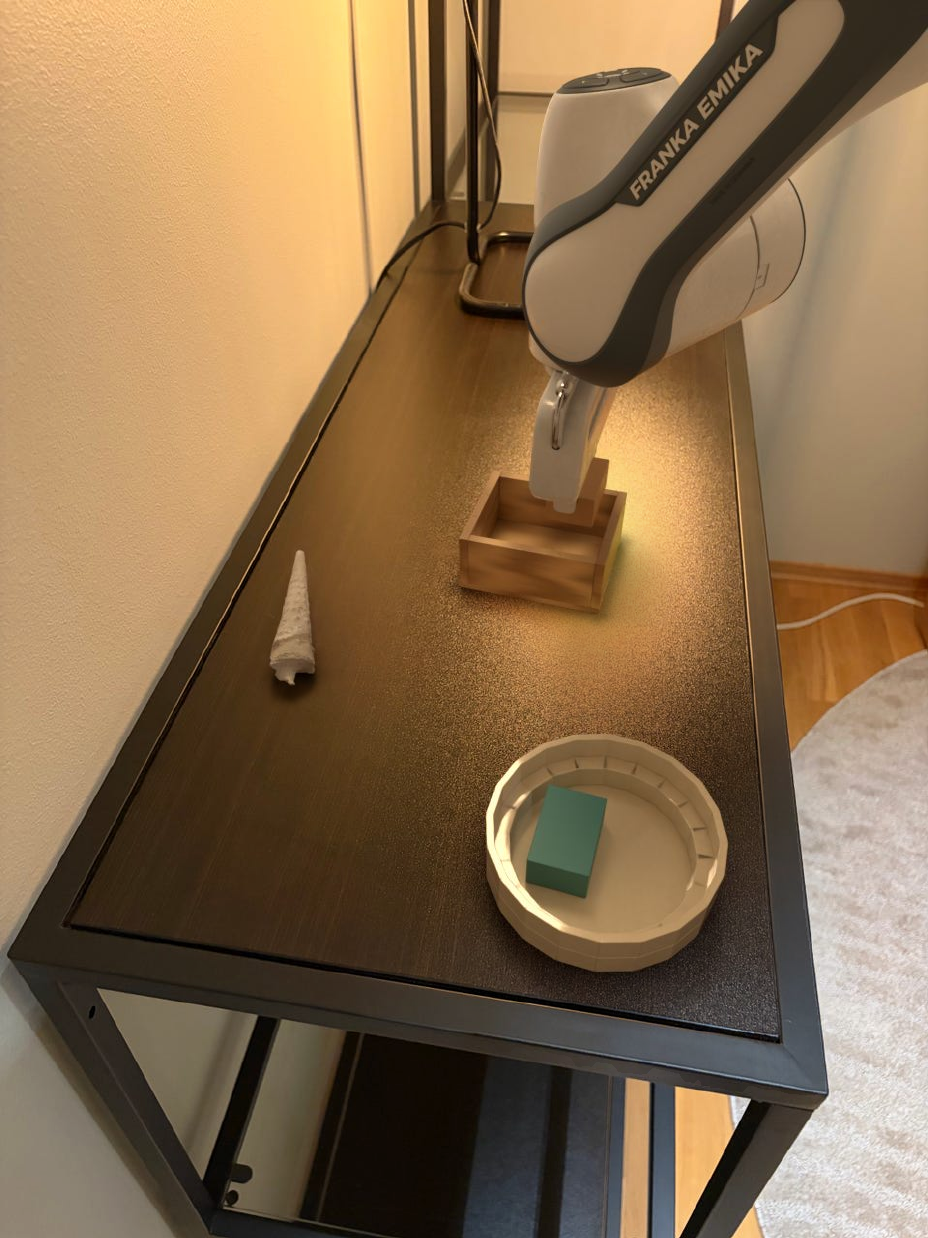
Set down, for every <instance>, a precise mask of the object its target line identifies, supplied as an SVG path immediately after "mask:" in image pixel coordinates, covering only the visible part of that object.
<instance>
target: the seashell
mask: <svg viewBox="0 0 928 1238" xmlns="http://www.w3.org/2000/svg"><path fill="white" fill-rule="evenodd" d="M308 586H309V585H308V574H307V564H306V557H305V552H304V551H303V550H300V549H299V550H297V551H296V552H295V556H294V561H293V564H292V568H291V575H290V579H289V583H288V585H287V587H288V589H287V590H286V592H287V593H286V597H285V598H284V605H283V607H282V614H281V619H280V621H279V624H278V626H277V629H276V633H275V637H274V640H273V642H272V645H271V647H270V648H271V649H270V654H269V655H270V656H269V667H270V668H272V669H273V670H275V673H274V676H275V677H276V679H278V681H282V682H283V681H284V682H286V683H287V684H288V685H289V686H295V685H296V683H295V682H294V681H295V677H296V674H297V673H303V674H304V673H307V674H315V672H316V668H315V665H316V662H315V652H316V649H315V648H314V646H313V638H312V637H313V634H312V623H311V611H310V607H311V604H310V602H309V587H308Z"/></svg>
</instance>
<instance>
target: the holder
mask: <svg viewBox="0 0 928 1238" xmlns="http://www.w3.org/2000/svg"><path fill="white" fill-rule="evenodd" d="M627 499H628V492H627V491H620V490H615V489H609V488H605V491H604V494H603V497H602V500H601V503H600V505H599V508H598V511H597V514H596V517H595V520H594V523H593V526H592V527H587V526H582V525H577V524H571V523H566V522H561V521H556V520H550V519H546V518H545V515H546V500H543V499H539V498H535V497H534V496H533V495H532V494H531V492H530V489H529V475H525V474H519V473H513V472H507V471H501V470H495V469H493V470H492V473H491V474H490V476H489V478H488V481H487V482H486V484H485V486H484V488H483V490H482V492H481V494H480V496H479V498H478V501H477V502H476V504H475V506H474V508H473V510H472V512H471V514H470V515H469V518H468V520H467V522H466V523H465V526H464V528H463V529H462V532H461V534H460V536H459V538H458V545H459V546H458V552H459V586H460V587H461V588H465V589H469V590H473V591H474V590H475V591H480V592H483V593H490V594H493V595H494V594H496V595H499V596H504V597H508V598H509V597H510V598H514V599H520V600H524V601H530V602H533V603H540V604H545V605H550V606H555V607H560V608H565V609H570V610H574V611H580V612H585V613H590V614H593V615H594V614H595V615H600V612H601V608H602V604H603V601H604V598H605V595H606V592H607V587H608V584H609V581H610V578H611V574H612V570H613V568H614V564H615V560H616V557H617V554H618V551H619V547H620V544H621V539H622V535H623V534H622V533H623V532H622V531H623V527H624V526H623V525H624V520H625V513H626V503H627Z"/></svg>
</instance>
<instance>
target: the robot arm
mask: <svg viewBox="0 0 928 1238" xmlns="http://www.w3.org/2000/svg"><path fill="white" fill-rule="evenodd" d="M925 84H928V0H747V2H746V3H745V4H744V5H743V6H742V7H741V9H740V10H739V11H738V12H737V14H736V15H735V17H734V18H733V19H732V20H731V21H730V23H728V24H727V26H726V27H725V28H724V30H723V31H722V32H721V33H720V35H719V36H718V37H717V38H716V40H715V41H714V42H713V44H711V46H710V47H709V48H708V50H706V52H705V53H704V55H703V56H702V57H701V59H700V60H699V61H698V62H697V63H696V65H695V66H694V68H692V70H691V71H690V72H689V74H688V75H687V76H686V78H685V79H684V80H683V81H682V82H681V83H679V80H678V79H677V78H676V77H675V75H673V74H672V73H670V72H668V71H665V70H662V69H661V68H657V67H650V66H649V67H647V66H639V67H626V68H625V67H624V68H623V67H622V68H617V69H615V70H609V71H599V72H595V73H592V74H588V75H583V76H579V77H576V78H573V79H571V80H568V81H567V82H565V83H564V84H562V85H561V87H560V88H558V89H556V91H555V92H554V93H553V95H552V97H551V98H550V100H549V103H548V106H547V109H546V112H545V115H544V119H543V123H542V128H541V131H540V132H541V133H540V137H539V145H538V153H537V159H536V170H535V181H534V182H535V183H534V201H533V227H534V231H533V235H532V237H531V240H530V242H529V246H528V248H527V252H526V255H525V258H524V259H525V260H524V264H523V270H522V277H521V290H520V291H521V306H522V312H523V316H524V317H523V318H524V320H525V323H526V326H527V329H528V349H529V351H530V354H531V355H532V356H533V358H535V360H537V361H538V362H539V363H540V364H543V365H544V366H543V368H544V370H545V373H546V374H547V375H548V376H549V377H550V378H549V380H548V382H547V384H546V386H545V389H544V391H543V393H542V394H541V397H540V400H539V401H538V405H537V410H536V414H535V419H534V425H533V432H532V433H533V434H532V442H531V453H530V463H529V464H530V465H529V475H528V476H529V489H530V492H531V494H532V495H533V496H534V497H535V498H539V499H543V500H548V501H553V508H554V510H556V511H557V512H563V513H568V514H571V513H574V511H575V509H576V506H577V503H578V498H579V494H580V491H581V488H582V486H583V483H584V480H585V478H586V475H587V472H588V469H589V467H590V464H591V461H592V459H593V457H596V454H597V451H598V445H599V442H600V440H601V437H602V434H603V431H604V428H605V426H606V423H607V420H608V418H609V415H610V412H611V410H612V407H613V404H614V401H615V399H616V396H617V393H618V391H619V388H620V387H621V386H623V385H624V386H625V385H626V384H628V383H630V382H631V381H632V380H634V379H636V378H637V377H638V376H640V375H642V374H643V373H645V372H647V371H648V370H650V369H652V368H653V367H655V366H657V365H658V364H660V362H661V361H662V360H665V359H666V358H668V357H670V356H673V355H675V354H677V353H679V352H681V351H683V350H685V349H687V348H689V347H691V346H693V345H695V344H697V343H699V342H702V341H703V340H705V339H707V338H709V337H711V336H714V335H715V334H717V333H719V332H721V331H722V330H724V329H726V328H728V327H730V326H732V325H734V324H736V323H738V322H740V321H743V320H744V319H746V318H748V317H750V316H752V315H753V314H755V313H757V312H758V311H761V310H762V309H764V308H766V307H767V306H768V305H771V304H772V303H774V302H776V301H777V300H778V299H780V298H781V297H782V296H783V295H784V294H785V293H786V292H787V291H788V289H789V288H790V287H791V286H792V284H793V282H794V281H795V279H796V278H797V275H798V274H799V271H800V267H801V265H802V262H803V258H804V255H805V248H806V240H807V224H806V223H807V222H806V215H805V210H804V207H803V203H802V199H801V197H800V194H799V192H798V190H797V188H796V186H795V185H794V184H793V182H792V180H791V179H790V178H791V177H792V176H793V175H794V174H795V173H796V172H797V171H798V170H799V169H800V168H801V167H802V166H803V165H804V164H805V163H806V162H807V161H808V160H809V159H810V158H811V157H812V156H814V155H815V154H816V153H817V152H818V151H820V149H822V148H823V147H824V146H825V145H827V144H828V143H829V142H830V141H832V140H833V139H835V138H836V137H837V136H838V135H840V134H841V133H843V132H845V131H846V130H847V129H848V128H850V127H852V126H853V125H855V124H856V123H857V122H859V121H860V120H862V119H864V118H865V117H867V116H868V115H870V114H871V113H873V112H875V111H877V110H878V109H880V108H882V107H883V106H885V105H887V104H889V103H891V102H892V101H895V100H897V99H899V98H900V97H902V96H903V95H905V94H908V93H909V92H912V91H913V90H915V89H918V88H919V87H921V86H923V85H925Z"/></svg>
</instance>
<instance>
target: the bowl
mask: <svg viewBox="0 0 928 1238" xmlns="http://www.w3.org/2000/svg"><path fill="white" fill-rule="evenodd" d="M549 784H550V785H554V786H558V787H562V788H566V789H570V790H574V791H578V792H582V793H586V794H590V795H594V796H598V797H602V798H606V799H607V805H606V810H605V816H604V822H603V826H602V831H601V835H600V839H599V843H598V848H597V852H596V856H595V861H594V865H593V869H592V874H591V878H590V882H589V886H588V891H587V895H586V898H581V897H577V896H574V895H570V894H566V893H563V892H559V891H556V890H552V889H548V888H545V887H541V886H538V885H534V884H530V883H527V882H525V878H526V862H527V857H528V853H529V850H530V847H531V843H532V840H533V836H534V833H535V830H536V826H537V823H538V819H539V816H540V813H541V809H542V806H543V803H544V799H545V796H546V792H547V789H548V786H549ZM724 825H725V824H724V822H723V818H722V814H721V810H720V809H719V807H718V805H717V804H716V802H715V800H714V799H713V797H712V796H711V795H710V793H709V791H708V789H707V788H706V786H705V785H704V784H703V782H702V781H701V780H700V778H698V777H697V776H696V775H695V774H694V773H692V772H691V771H690V770H689V769H688V768H687V767H686V766H685V765H684V764H682V763H681V762H680V761H679V760H678V759H677V758H676V757H673V756H672V755H670V754H668V753H666V752H665V751H662V750H660V749H659V748H656V747H654V746H652V745H650V744H648V743H646V742H644V741H641V740H637V739H632V738H627V737H623V736H619V735H615V734H610V733H583V734H571V735H568V736H565V737H561V738H558V739H554V740H550V741H547V742H543V743H541V744H539V745H538V746H536V747H535V748H533V749H532V750H530V751H528V752H527V753H525V754H524V755H522V756H520V757H519V758H517V759H516V760H515V761H514V762H513V763H512V764H511V766H510V767H509V768H508V769H507V771H505V773H504V774H503V775H502V777H501V778H500V779H499V780H498V781H497V782H496V784H495V787H494V788H493V793H492V795H491V797H490V800H489V804H488V807H487V809H486V813H485V867H486V869H485V870H486V879H487V882H488V885H489V887H490V891H491V893H492V896H493V898H494V900H495V903H496V906H497V908H498V911H499V912H500V913H501V914H502V916H503V917H504V918H505V919H506V921H507V922H508V923H509V924H510V925H511V926H512V928H513V929H514V930H515V931H516V933H517V934H518V935H519V936H520V938H521V939H522V940H524V941H525V942H527V943H528V944H529V945H531V946H533V947H535V948H536V949H537V950H539V951H540V952H542V953H544V954H545V955H547V956H548V957H550V958H551V959H553V960H554V961H557V962H559V963H562V964H563V963H564V964H567V965H570V966H573V967H577V968H581V969H583V970H587V971H590V972H595V973H612V972H613V973H615V972H616V973H617V972H621V973H622V972H623V973H625V972H637V971H640V970H642V969H645V968H647V967H648V968H649V967H650V966H653V965H656V964H659V963H662V962H664V961H665V962H666V961H668V960H669V959H672V958H673V957H674V956H675V955H676V954H677V953H679V952H680V951H681V950H683V948H685V947H686V946H687V945H689V944H690V943H691V942H692V941H694V939H695V938H696V937H697V936H698V935H699V933H700V931H701V930H702V928H703V926H704V925H705V922H706V920H707V919H708V917H709V915H710V913H711V911H712V910H713V908H714V905H715V902H716V900H717V897H718V894H719V891H720V889H721V886H722V884H723V881H724V878H725V875H726V867H727V866H726V865H727V856H728V848H729V841H728V837H727V834H726V830H725V826H724Z"/></svg>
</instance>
